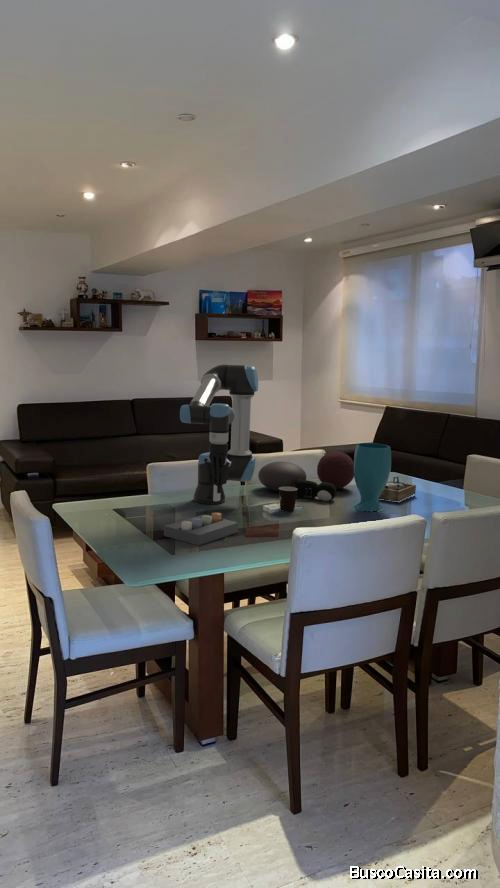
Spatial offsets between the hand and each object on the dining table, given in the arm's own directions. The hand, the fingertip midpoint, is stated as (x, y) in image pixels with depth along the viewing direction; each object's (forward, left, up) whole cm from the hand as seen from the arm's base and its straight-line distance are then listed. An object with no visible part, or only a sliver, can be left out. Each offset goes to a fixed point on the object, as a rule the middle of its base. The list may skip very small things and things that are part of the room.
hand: (216, 500), depth 270 cm
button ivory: (0, -18, -9) cm, 20 cm away
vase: (+30, +78, -12) cm, 84 cm away
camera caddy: (+29, +108, -12) cm, 112 cm away
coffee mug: (+3, +49, -12) cm, 50 cm away
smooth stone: (-21, +80, -12) cm, 83 cm away
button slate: (0, -12, -9) cm, 15 cm away
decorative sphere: (-3, +104, -12) cm, 104 cm away
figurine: (+1, +76, -12) cm, 77 cm away
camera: (+28, +109, -12) cm, 113 cm away
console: (0, -9, -12) cm, 15 cm away
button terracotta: (0, 0, -9) cm, 9 cm away
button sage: (0, -6, -9) cm, 11 cm away
